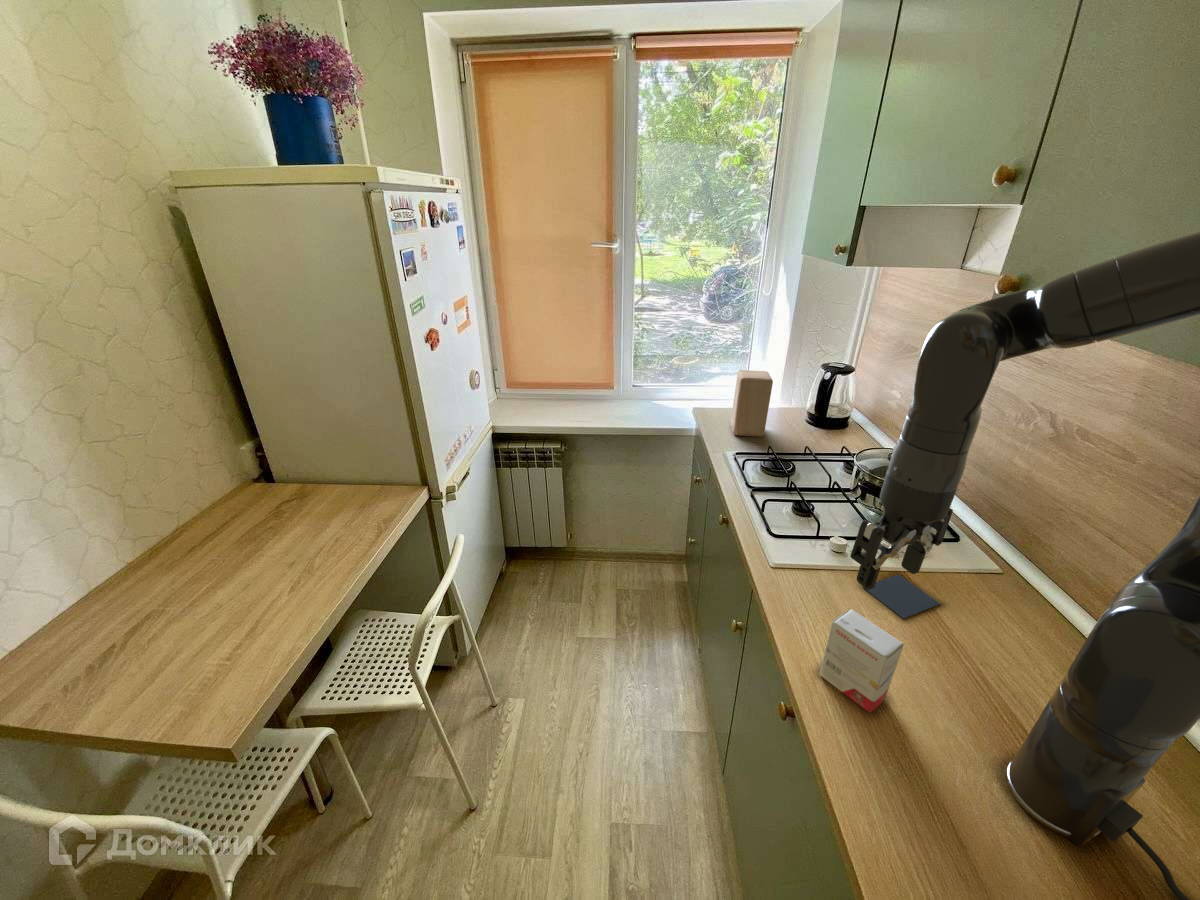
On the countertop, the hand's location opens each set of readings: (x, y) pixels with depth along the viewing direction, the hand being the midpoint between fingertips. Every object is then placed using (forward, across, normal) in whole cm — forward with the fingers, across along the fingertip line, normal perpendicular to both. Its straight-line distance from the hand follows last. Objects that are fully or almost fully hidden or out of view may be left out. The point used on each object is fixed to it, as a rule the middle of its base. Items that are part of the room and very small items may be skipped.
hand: (887, 577), depth 67 cm
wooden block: (+22, +48, +88) cm, 102 cm away
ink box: (+22, 0, 0) cm, 22 cm away
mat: (+22, +26, +12) cm, 36 cm away
